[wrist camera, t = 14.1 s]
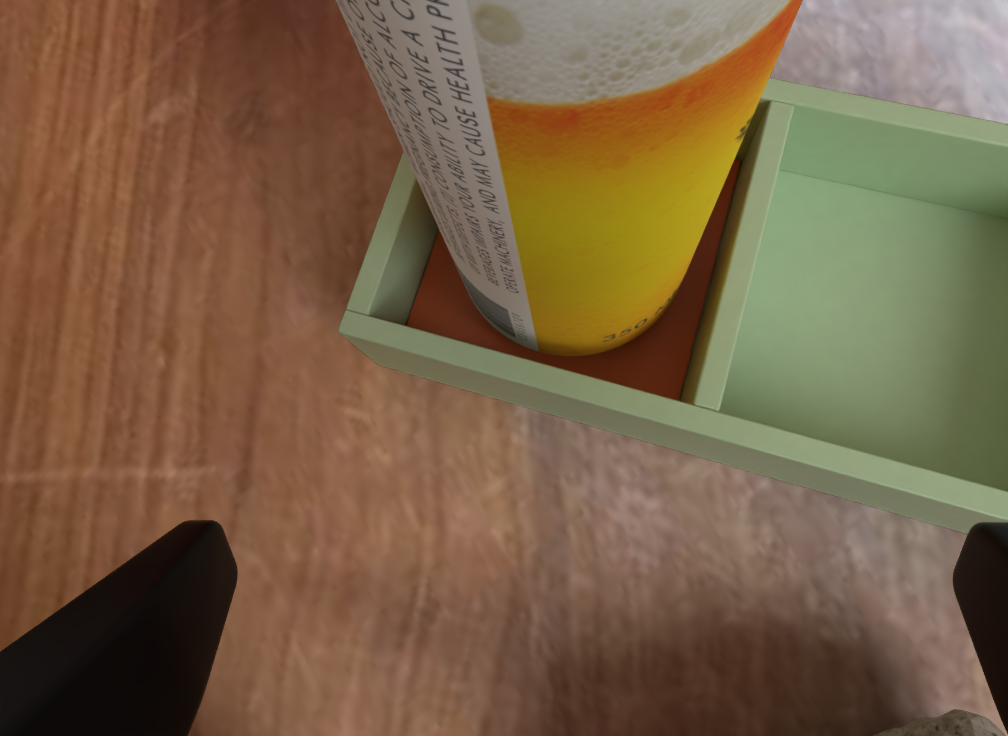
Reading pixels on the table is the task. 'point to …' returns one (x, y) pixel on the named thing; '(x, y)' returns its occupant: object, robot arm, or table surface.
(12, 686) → the robot arm
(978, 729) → the stone
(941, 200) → the tray
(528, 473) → the table surface
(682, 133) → the beer can
